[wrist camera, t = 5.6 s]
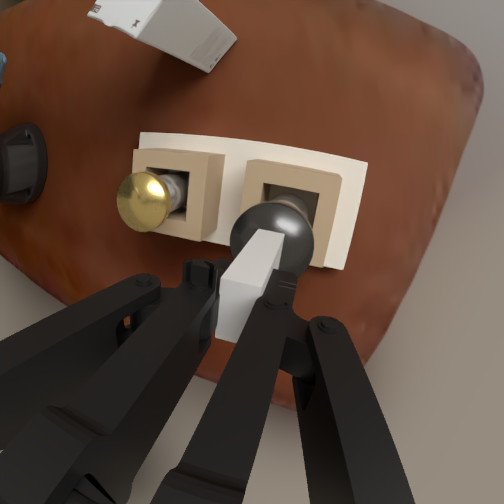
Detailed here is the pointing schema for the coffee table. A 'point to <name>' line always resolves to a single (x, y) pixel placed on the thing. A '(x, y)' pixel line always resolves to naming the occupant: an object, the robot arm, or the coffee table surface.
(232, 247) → the plug black
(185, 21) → the skincare box
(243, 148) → the socket board
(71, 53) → the coffee table surface
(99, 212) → the coffee table surface
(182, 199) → the plug brass
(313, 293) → the coffee table surface
